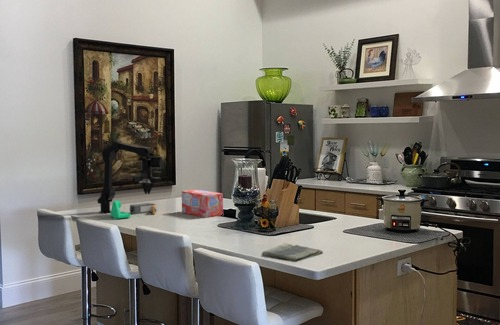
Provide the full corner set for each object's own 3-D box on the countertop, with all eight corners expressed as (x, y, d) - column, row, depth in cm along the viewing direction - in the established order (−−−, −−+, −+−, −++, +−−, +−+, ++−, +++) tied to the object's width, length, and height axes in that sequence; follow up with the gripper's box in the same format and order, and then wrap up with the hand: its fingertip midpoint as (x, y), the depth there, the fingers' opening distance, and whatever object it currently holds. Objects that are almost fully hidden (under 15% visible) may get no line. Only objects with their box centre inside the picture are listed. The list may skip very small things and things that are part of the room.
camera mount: (131, 218, 327) (130, 200, 326) (118, 220, 323) (118, 202, 322) (122, 216, 337) (122, 198, 336) (110, 217, 332) (110, 200, 332)
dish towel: (296, 263, 215) (296, 255, 215) (260, 257, 227) (260, 249, 227) (324, 254, 229) (324, 246, 229) (289, 248, 241) (289, 241, 241)
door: (152, 214, 338) (152, 206, 337) (154, 211, 348) (154, 204, 348) (156, 214, 338) (155, 206, 338) (157, 211, 348) (157, 203, 348)
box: (224, 215, 330) (223, 192, 329) (206, 218, 322) (205, 194, 321) (198, 210, 351) (198, 188, 350) (181, 213, 343) (180, 190, 342)
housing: (128, 213, 346) (128, 204, 346) (149, 210, 354) (149, 202, 354) (133, 214, 340) (132, 205, 340) (154, 211, 348) (154, 203, 348)
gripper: (125, 168, 339) (126, 194, 340) (148, 169, 329) (149, 196, 330) (138, 167, 348) (139, 192, 349) (161, 168, 338) (162, 194, 339)
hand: (147, 193), depth 342 cm, fingers closed
